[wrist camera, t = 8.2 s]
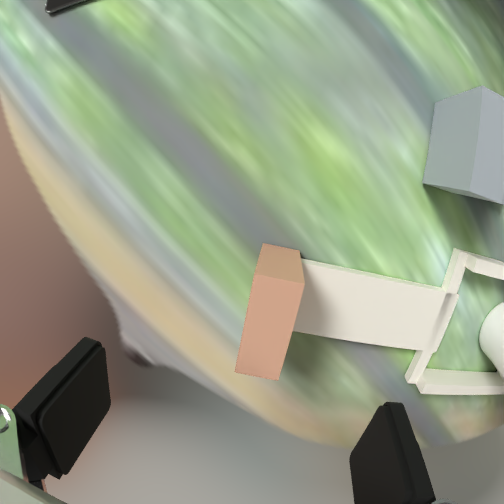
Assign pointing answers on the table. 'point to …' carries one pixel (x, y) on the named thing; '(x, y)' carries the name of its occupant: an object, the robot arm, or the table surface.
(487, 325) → the drinking glass
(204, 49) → the table surface
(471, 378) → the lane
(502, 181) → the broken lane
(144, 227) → the table surface
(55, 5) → the smartphone
